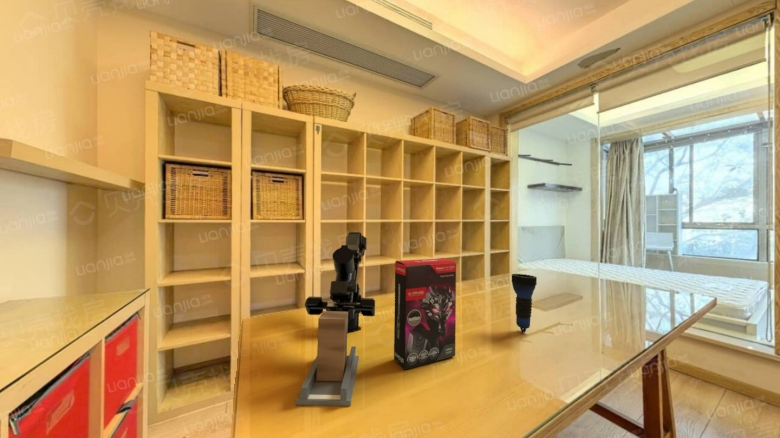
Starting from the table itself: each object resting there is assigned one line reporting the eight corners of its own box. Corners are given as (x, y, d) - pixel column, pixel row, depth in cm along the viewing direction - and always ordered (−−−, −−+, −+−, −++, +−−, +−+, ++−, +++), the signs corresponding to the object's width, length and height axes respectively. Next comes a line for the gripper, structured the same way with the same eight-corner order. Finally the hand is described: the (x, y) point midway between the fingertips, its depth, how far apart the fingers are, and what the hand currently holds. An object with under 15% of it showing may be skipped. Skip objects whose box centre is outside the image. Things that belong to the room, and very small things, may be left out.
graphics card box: (403, 372, 67) (407, 263, 67) (390, 358, 73) (394, 259, 73) (456, 357, 75) (459, 261, 75) (440, 347, 81) (443, 257, 81)
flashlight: (522, 326, 99) (524, 272, 99) (540, 335, 92) (542, 277, 92) (505, 328, 97) (506, 273, 97) (522, 337, 89) (523, 278, 89)
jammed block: (321, 368, 65) (323, 311, 65) (346, 368, 65) (348, 311, 65) (316, 380, 60) (318, 318, 60) (343, 381, 60) (345, 319, 60)
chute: (318, 358, 72) (318, 345, 72) (358, 359, 72) (359, 346, 72) (296, 405, 54) (296, 387, 54) (350, 406, 54) (351, 388, 54)
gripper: (307, 267, 73) (292, 323, 61) (376, 269, 73) (373, 325, 62) (314, 288, 80) (301, 341, 69) (376, 290, 81) (373, 343, 70)
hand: (336, 337), depth 67 cm, fingers closed
